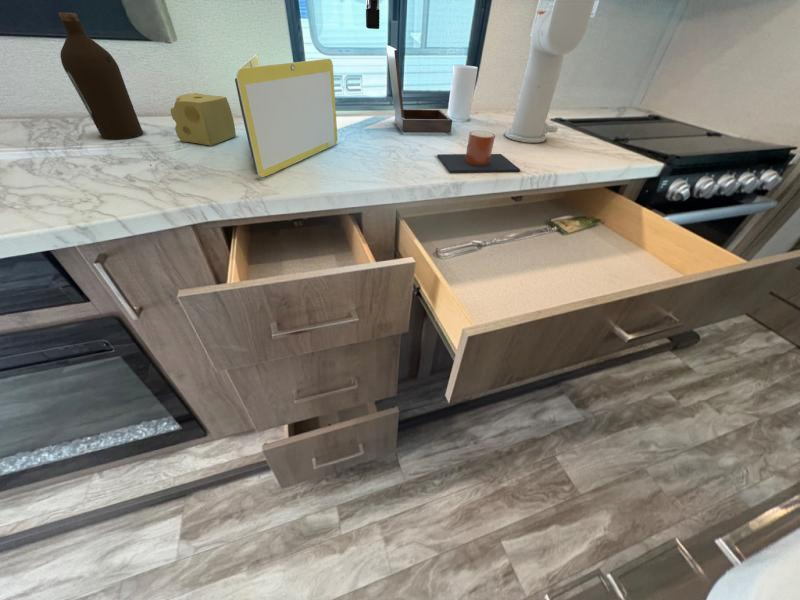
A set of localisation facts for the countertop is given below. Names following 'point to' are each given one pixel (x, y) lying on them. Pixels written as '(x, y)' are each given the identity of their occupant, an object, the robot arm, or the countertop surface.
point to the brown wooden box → (423, 121)
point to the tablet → (287, 111)
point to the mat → (458, 165)
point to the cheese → (203, 119)
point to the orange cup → (479, 148)
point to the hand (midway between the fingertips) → (372, 27)
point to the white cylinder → (461, 91)
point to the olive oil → (98, 82)
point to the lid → (395, 80)
